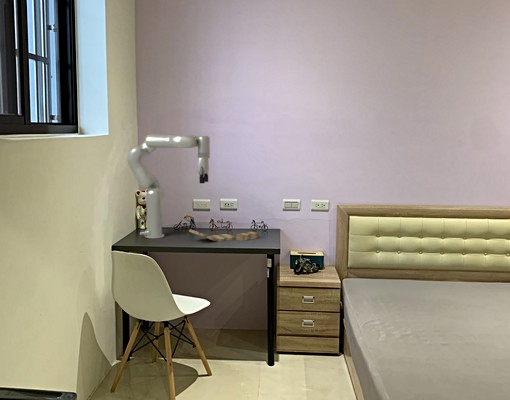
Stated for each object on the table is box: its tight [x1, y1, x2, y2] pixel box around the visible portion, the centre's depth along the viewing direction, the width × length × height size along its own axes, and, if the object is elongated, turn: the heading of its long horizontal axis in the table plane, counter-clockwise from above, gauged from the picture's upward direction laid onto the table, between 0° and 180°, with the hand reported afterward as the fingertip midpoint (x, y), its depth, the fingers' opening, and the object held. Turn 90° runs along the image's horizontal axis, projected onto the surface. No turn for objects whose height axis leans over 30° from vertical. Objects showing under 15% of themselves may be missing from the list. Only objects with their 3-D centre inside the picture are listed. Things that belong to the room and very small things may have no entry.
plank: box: [188, 228, 217, 242], centre depth 357 cm, size 14×12×2 cm
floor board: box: [209, 233, 237, 243], centre depth 365 cm, size 14×12×2 cm
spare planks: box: [235, 231, 259, 242], centre depth 367 cm, size 15×7×3 cm, turn 134°
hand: (204, 182), depth 364 cm, fingers open, 9 cm apart
